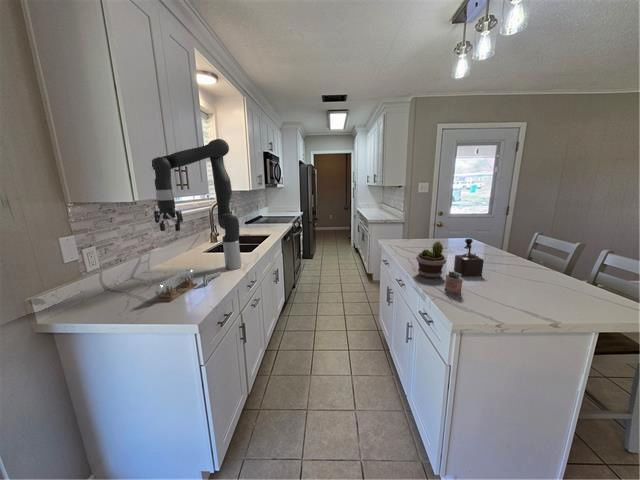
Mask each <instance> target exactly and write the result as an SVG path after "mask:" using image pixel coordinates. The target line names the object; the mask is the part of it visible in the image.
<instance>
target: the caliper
mask: <svg viewBox="0 0 640 480" xmlns="http://www.w3.org/2000/svg"><path fill="white" fill-rule="evenodd" d="M222 273H223V272H222V271H218V272H215V273H213V274H207V273H205V274H203V277H202V278H203V279H202V282H203V283H202V284H203V287H207V286H208V285H209V281H212V278H215V277H218V276H220V275H221V274H222Z"/></svg>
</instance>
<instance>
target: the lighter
mask: <svg viewBox="0 0 640 480" xmlns="http://www.w3.org/2000/svg"><path fill="white" fill-rule="evenodd" d="M462 277H463V276H462V275H461V274H459V273H457V272H455V271H454V270H453V271H452V270H448V273H447V274H445V284H444V288H443V289H444V291H445V292H447V293H448V294H451V295H453V296H457V297H461V296H462V288H463V287H462V286H463V281H464V279H463V278H462Z"/></svg>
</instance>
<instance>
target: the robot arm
mask: <svg viewBox="0 0 640 480" xmlns="http://www.w3.org/2000/svg"><path fill="white" fill-rule="evenodd" d="M229 150H230V147H229V144H228V142H227V141H226V140H224V139H222V138H215V139H213V140H211V141H209V142H208V144H205V145H202V146H198V147H194V148H189V149H184V150H181V151H176V152H174V153H171V154H167V155H163V156H158V157H157V156H156V157H155V158H152V159H151V161H152V167H153V169H154V170H155V171H154V170H153V169H152V170H153V171H154V175H155V179H154V187H156V188H155V197H156V202H157V208H158V210H153V216H154V222H155V223H156V224H158V225H159V230H160V231H161V232H165V231H166V226H165V225H166V224H165V222H166V220H170V221H172V222H173V223H174V229H175V232H179V231H181V223H183V222H184V218H183V215H182V214H183V213H182V210H176V203H175V195H174V192H173V185H172V180H171V179H172V178H171V177H172V170H173V169H176V168H181V167H184V166H189V165H192V164H193V163H197V162H200V161H202V160H205V159H209V160H210V165H211V169H212V170H211V172H212V177H213V185H214V186H213V187H214V193H215V199H216V204H217V206H216V207H217V222H218V226H219V227H220V228H221V229H223V230H224V236H222V239H221V240H222V245H223V247H222V248H223V256H224V257H223V258H224V266H225V269H226V270H228V271H232V270H233V271H235V270H238V269H240V268H241V267H242V257H241V251H240V240H239V238H240V222H239V219H238V217H237V216H236V215H233V214H231V210H230V202H231V198H232V191H233V190H232V184H231V183H232V182H231V179H230V175H228V172H227V170H226V166H225V162H224V161H225V160H224V157H226V155H228V153H229V152H230V151H229Z"/></svg>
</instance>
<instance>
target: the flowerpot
mask: <svg viewBox="0 0 640 480" xmlns="http://www.w3.org/2000/svg"><path fill="white" fill-rule="evenodd" d="M443 253H444V245H443V244H442V242H441V241H440V240H439V239H438V240H437V241H434V243H432V246H431V249H428V248H426V249H425V248H423V249H422V251H421V252H419V253H418V255H416V257H415V259H416V261H417V263H418V268H417V272H418V274H419V275H420V277H422V278H426V279H431V280H432V279H439V278H440V277H441V276H442V274H443V270H442V269H443V267H444V265H445V264H446V263H447V259H446V257H445V256H444V254H443Z"/></svg>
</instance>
